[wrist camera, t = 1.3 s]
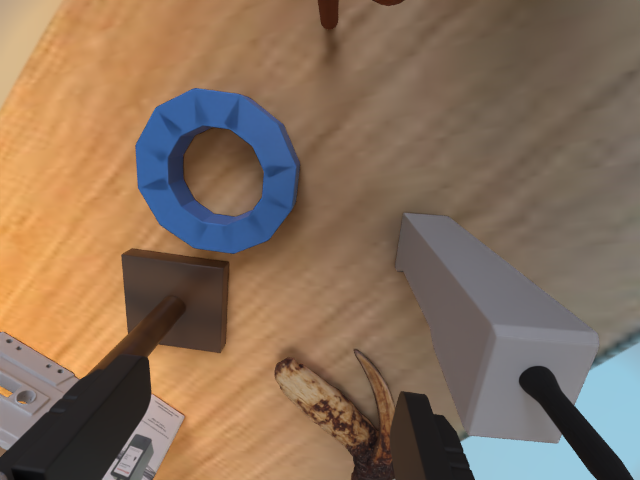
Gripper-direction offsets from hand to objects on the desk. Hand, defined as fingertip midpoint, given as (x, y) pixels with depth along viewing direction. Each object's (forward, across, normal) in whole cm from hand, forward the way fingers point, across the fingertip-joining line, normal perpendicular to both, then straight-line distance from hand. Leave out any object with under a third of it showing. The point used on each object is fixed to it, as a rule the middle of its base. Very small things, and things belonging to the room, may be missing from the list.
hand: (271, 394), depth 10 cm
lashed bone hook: (+19, -6, +18) cm, 27 cm away
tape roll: (+19, +8, -4) cm, 20 cm away
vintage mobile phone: (+19, -9, 0) cm, 21 cm away
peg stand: (+18, +12, +9) cm, 24 cm away
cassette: (+19, +27, +18) cm, 38 cm away
